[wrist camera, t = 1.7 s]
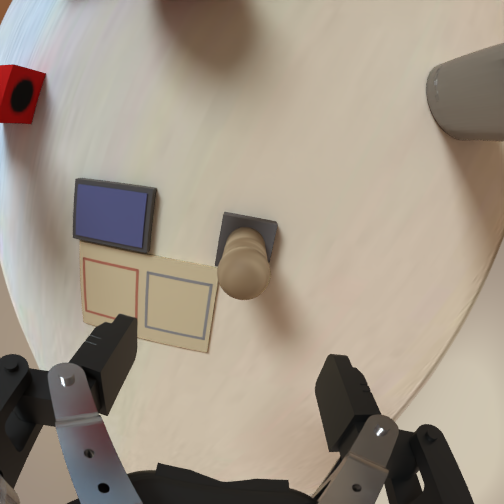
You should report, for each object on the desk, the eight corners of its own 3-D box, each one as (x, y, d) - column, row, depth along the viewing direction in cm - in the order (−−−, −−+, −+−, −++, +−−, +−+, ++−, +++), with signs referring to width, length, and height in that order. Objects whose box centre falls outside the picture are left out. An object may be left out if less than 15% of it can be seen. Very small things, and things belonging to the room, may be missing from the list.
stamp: (276, 221, 28) (289, 255, 19) (265, 269, 30) (272, 322, 20) (224, 211, 28) (211, 241, 18) (216, 260, 30) (200, 310, 20)
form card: (220, 268, 30) (219, 269, 29) (207, 351, 33) (206, 352, 33) (80, 240, 29) (79, 241, 28) (84, 321, 32) (83, 322, 32)
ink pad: (156, 187, 27) (152, 189, 26) (149, 250, 29) (145, 253, 28) (80, 177, 27) (74, 178, 26) (77, 235, 29) (72, 238, 27)
